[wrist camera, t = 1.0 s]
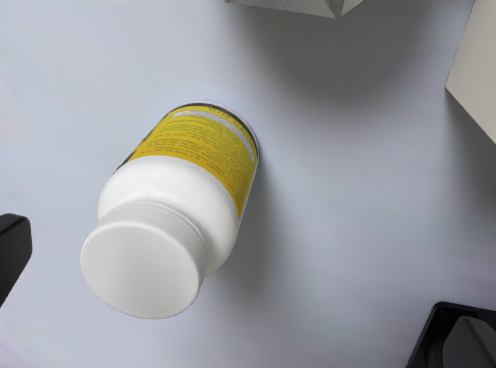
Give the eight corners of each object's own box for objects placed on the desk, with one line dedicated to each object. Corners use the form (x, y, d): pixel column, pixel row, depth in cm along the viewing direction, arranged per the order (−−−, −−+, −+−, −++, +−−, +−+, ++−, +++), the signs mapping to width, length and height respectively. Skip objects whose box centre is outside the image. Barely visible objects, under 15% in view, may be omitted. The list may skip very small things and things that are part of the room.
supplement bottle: (159, 86, 21) (54, 183, 13) (269, 111, 21) (237, 225, 13) (152, 182, 24) (61, 315, 15) (249, 204, 24) (211, 351, 15)
